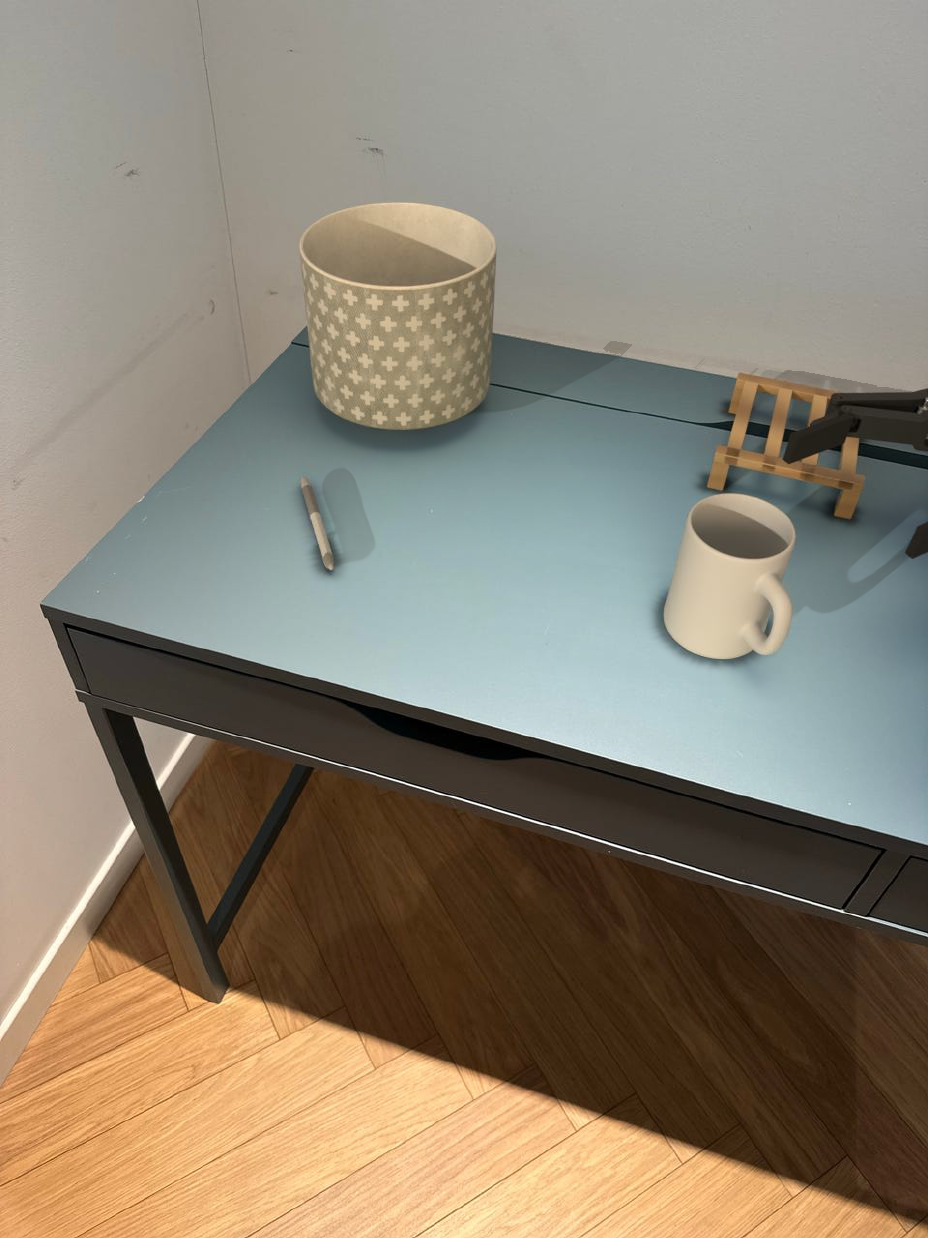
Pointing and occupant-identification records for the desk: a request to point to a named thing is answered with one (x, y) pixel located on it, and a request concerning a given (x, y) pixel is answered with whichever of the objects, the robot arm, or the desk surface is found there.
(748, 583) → the mug
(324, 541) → the pen
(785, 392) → the rack
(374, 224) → the planter
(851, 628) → the desk surface
